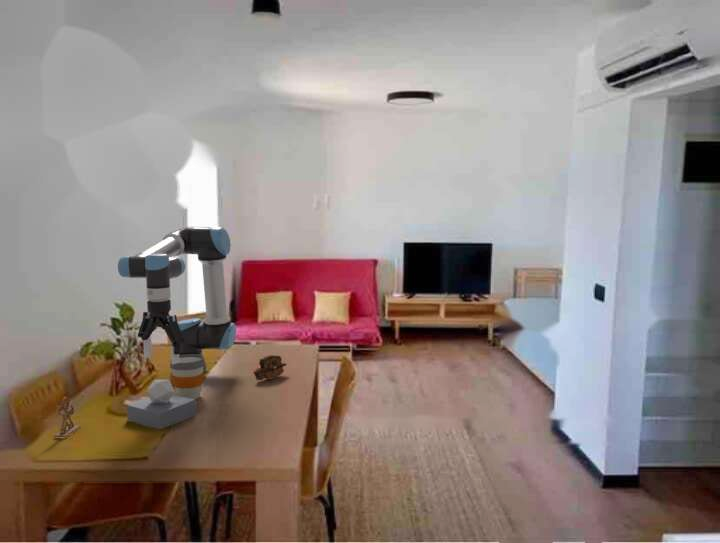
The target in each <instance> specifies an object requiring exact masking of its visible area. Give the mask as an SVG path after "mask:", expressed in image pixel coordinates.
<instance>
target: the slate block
mask: <svg viewBox="0 0 720 543" xmlns="http://www.w3.org/2000/svg"><path fill="white" fill-rule="evenodd" d="M126 412H127V413H126V415H127V416H126V417H127V421H128V420H130V421H129V422H131V421H132V422H131V423H134V422H136V423H135V424H138V423H139V424H138V425H141V424H142V426H145V425H146V426H145V427H148V426H149V428H152V427H153V429H155V428H157V429H156V430H159V429H161V430H163V429H165V428H164V427H166V428H168V427H170V426H173V425H175V424H177V423H179V422H182V421H184V420H186V419H188V418H192V417H194V416H196V415H197V399H192V398H187V397H183V396H179V395H176V393H174V394H173V396H172V397H171V399H170V400H169V402H168V403H167V404H152V402H151V400H150V398H149V396H148V397H146V398H143V399H140V400H137V401H134V402H132V403H129V404H126ZM167 426H168V427H167ZM162 428H163V429H162Z"/></svg>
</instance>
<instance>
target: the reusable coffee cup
mask: <svg viewBox="0 0 720 543" xmlns="http://www.w3.org/2000/svg"><path fill="white" fill-rule="evenodd" d="M203 357H204V355H203V356H200V355H181V356H179V363H176V364H172V360H171V359H170V366H169V367H170V370H171V369H172V373H171V374H170V375H171V376H170V377H171V381H172V382H171V383H172V387H173V388H174V391H175V392H174V394H175V395H179V396H183V397H187V398H192V399H196V400H197V399H199V398H201V393H202V386H203V383H204V377H205V376H204V374H205V372H204V371H203V366H204V360H205V357H204V358H203Z"/></svg>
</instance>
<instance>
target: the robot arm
mask: <svg viewBox="0 0 720 543" xmlns="http://www.w3.org/2000/svg"><path fill="white" fill-rule="evenodd" d="M231 246H232V245H231V238H230V235H229V233H228V231H227V230H226V229H225V228H224V227H223V226H222V227H221V226H186V227H182V228H179V229H176V230H174V231H171V232H169V233H168V234H166V235H164V237H163V238H162V240H160V241H158V242H157V243H155V244H154V245H152V246H150V247H148V248H146V249H144V250H142V251H141V252H139V253H137V254H136V255H133V256H129V255H128V256H122V257H121V258H119V260H118V262H117V271H118V274H119V275H120V276H121V277H122V278H130V279H145V280H146V299H147V302H146V304H147V311H143V313H142V321H141V323H140V327H139V329H138V333H137V337H138V338H140V339H141V340H142V348H143V358H144V359H149V358H152V357H153V350H152V348H153V347H152V338H151V336H152V334H153V332H154V331H155V329H156V327H157V328H158V327H159V328H161V329H162V330H164V332H165V333H166V335H167V337H168V339H169V340H170V342H171V343H172V344H171V345H170V351H171V352H170V354H171V355H170V356H171V357H170V361H171V360H172V364H176V363H179V356H181V355H200V356H203V358H204V366H203V371H204V373H206V372H207V370H208V368H207V366H208V365H207V363H206V361H205V357H204V354H203V350H217V351H222V350H224V351H225V350H230V349H231V348H232V347H233V345H234V343H235V340H236V336H237V326H236V324H235V323H234V322H232V321H231V317H230V316H229V315H227V314H228V313H227V300H226V299H227V298H226V285H225V274H224V261H225V260H226V259H227V255H229V254H230V252H231ZM180 255H197V260H198V261H199V262H200V263H201V265H202V266H201V268H202V277H203V278H202V280H203V291H204V302H205V303H204V304H205V314H206V317H204V318H203V320H202V319H201V318H198V317H196V318H189V319H182V320H179V321H178V318H177V315H176V314H172V315H170V311H171V309H172V304H171V279H176V278H179V277H180V276H181V275H183V274H184V272H185V271H186V263H185V260H183V258H182V257H180ZM170 373H171V374H172V369H171V368H170Z"/></svg>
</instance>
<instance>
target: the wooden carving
mask: <svg viewBox="0 0 720 543" xmlns="http://www.w3.org/2000/svg"><path fill="white" fill-rule="evenodd" d="M258 364H259V366H260V367H257V368H256V369H255V370H253V375H254V376H255V379H256V381H263V380H266V379H267V380H273V379H276V378H279V377H280V376H281V375H282V374H283V373H284V372H285V369H284V367H286V366H287V363H283V362H282V357H281V355H272V354H270V355H269V354H267V355H265V356H264V357H263V358H260V359H259V363H258Z"/></svg>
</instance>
